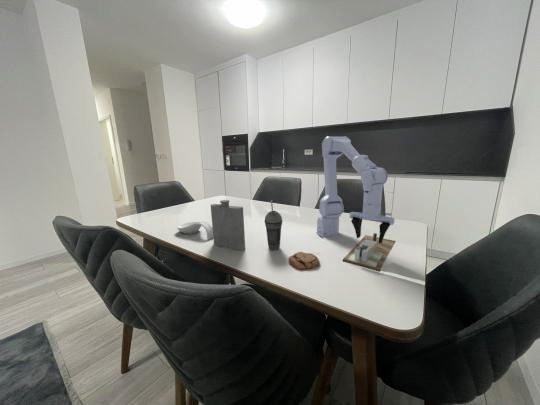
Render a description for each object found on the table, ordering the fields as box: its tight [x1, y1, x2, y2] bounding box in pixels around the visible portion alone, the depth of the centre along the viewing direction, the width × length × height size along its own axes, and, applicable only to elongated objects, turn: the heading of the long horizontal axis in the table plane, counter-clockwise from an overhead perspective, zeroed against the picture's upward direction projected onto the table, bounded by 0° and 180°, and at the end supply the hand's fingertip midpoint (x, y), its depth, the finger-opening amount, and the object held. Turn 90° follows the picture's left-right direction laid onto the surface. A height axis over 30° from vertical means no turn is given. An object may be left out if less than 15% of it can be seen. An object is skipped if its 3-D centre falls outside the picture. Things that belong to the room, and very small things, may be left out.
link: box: [354, 239, 377, 263], centre depth 79 cm, size 11×4×4 cm, turn 139°
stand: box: [342, 232, 397, 273], centre depth 84 cm, size 28×12×6 cm, turn 142°
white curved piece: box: [176, 220, 213, 240], centre depth 109 cm, size 24×12×7 cm, turn 54°
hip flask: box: [210, 199, 246, 251], centre depth 91 cm, size 16×4×20 cm, turn 61°
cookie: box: [288, 251, 320, 271], centre depth 78 cm, size 10×11×3 cm
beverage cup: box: [264, 199, 283, 251], centre depth 89 cm, size 7×7×20 cm
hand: (369, 239), depth 80 cm, fingers open, 7 cm apart
